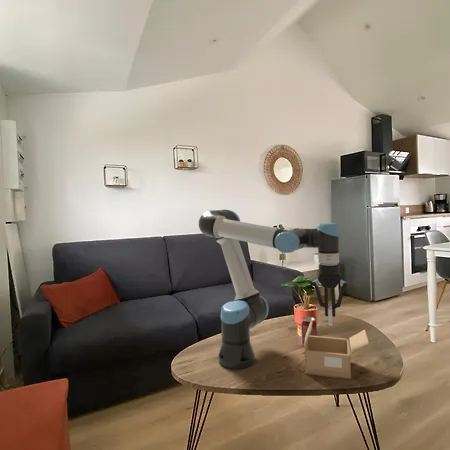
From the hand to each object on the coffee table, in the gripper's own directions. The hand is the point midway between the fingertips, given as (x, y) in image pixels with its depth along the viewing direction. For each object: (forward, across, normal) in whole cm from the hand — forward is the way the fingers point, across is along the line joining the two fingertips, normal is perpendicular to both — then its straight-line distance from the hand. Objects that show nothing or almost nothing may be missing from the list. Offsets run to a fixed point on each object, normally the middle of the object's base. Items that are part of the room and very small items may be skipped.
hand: (330, 324), depth 122 cm
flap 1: (+4, -8, 0) cm, 9 cm away
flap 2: (+5, +10, 0) cm, 11 cm away
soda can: (+17, -10, +19) cm, 27 cm away
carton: (+17, -2, 0) cm, 17 cm away
